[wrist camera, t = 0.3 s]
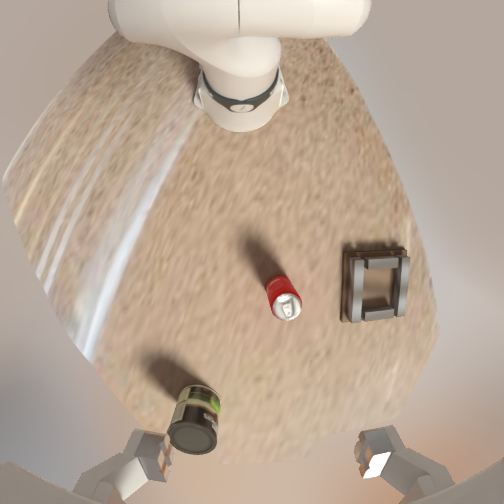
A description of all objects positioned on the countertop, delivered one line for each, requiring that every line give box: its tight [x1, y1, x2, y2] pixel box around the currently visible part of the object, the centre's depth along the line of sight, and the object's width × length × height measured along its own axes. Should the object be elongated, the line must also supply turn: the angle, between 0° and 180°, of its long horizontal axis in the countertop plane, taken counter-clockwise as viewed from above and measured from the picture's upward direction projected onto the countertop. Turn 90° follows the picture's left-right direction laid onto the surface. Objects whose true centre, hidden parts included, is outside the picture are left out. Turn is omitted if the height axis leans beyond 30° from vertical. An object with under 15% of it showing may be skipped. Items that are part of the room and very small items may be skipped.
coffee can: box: [167, 385, 221, 455], centre depth 55 cm, size 10×10×14 cm
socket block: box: [341, 249, 410, 323], centre depth 56 cm, size 15×15×4 cm
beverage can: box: [266, 276, 302, 321], centre depth 52 cm, size 5×5×12 cm
